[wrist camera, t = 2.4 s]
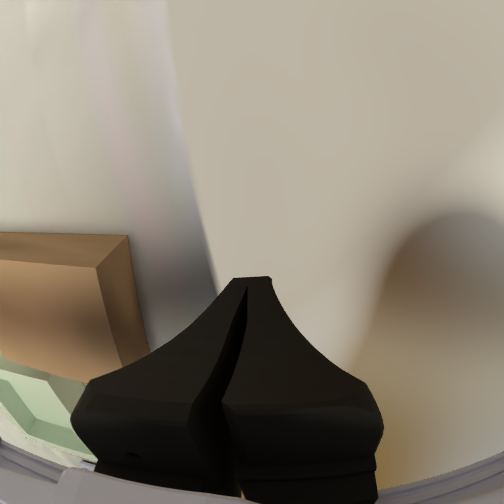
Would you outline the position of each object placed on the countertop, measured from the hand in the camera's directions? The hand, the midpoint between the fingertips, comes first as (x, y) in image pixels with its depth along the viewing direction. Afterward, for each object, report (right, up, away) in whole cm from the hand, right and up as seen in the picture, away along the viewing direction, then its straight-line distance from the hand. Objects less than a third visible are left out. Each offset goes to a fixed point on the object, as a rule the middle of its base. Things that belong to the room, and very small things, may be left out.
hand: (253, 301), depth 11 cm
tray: (-15, -8, +6) cm, 18 cm away
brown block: (-9, 0, +2) cm, 9 cm away
